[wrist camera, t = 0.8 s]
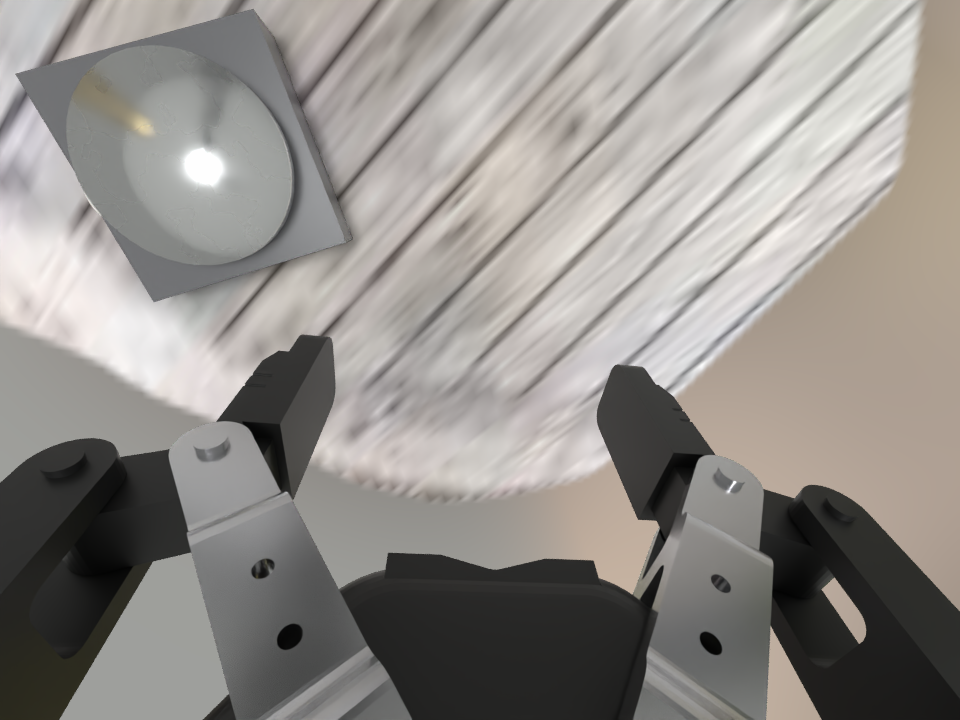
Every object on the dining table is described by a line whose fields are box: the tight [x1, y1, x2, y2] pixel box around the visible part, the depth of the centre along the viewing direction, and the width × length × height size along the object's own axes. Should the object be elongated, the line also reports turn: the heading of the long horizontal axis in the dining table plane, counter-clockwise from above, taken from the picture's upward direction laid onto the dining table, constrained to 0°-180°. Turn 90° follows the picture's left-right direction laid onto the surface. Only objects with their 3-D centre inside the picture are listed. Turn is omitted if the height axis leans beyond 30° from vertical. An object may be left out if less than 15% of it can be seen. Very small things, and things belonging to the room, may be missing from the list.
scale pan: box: [66, 45, 295, 265], centre depth 25 cm, size 12×12×1 cm
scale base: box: [16, 9, 353, 302], centre depth 28 cm, size 14×14×4 cm
